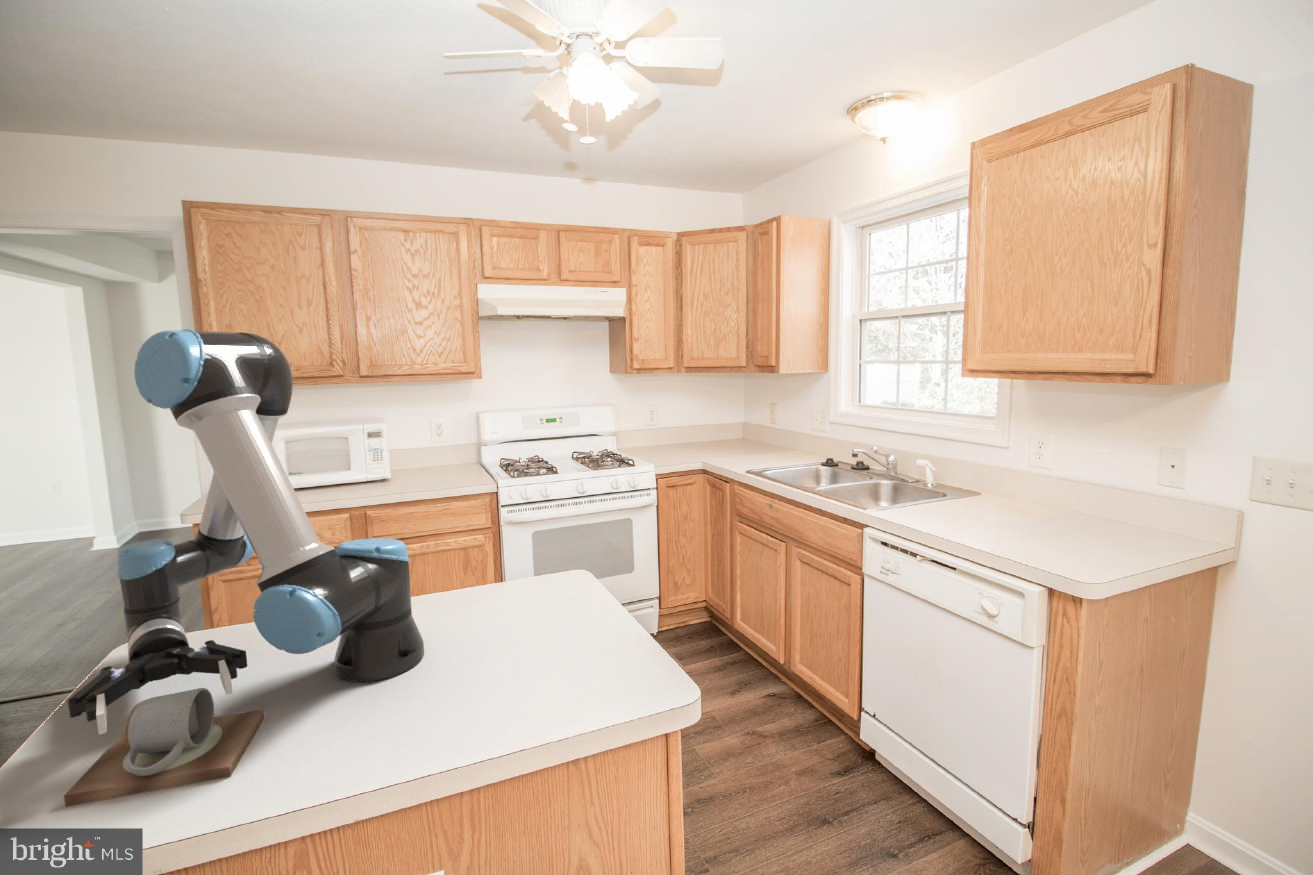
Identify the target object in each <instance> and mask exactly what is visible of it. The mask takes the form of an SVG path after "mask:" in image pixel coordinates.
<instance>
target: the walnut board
mask: <svg viewBox="0 0 1313 875" xmlns="http://www.w3.org/2000/svg"><path fill="white" fill-rule="evenodd" d="M264 720H265V709H257V710H249V711H243V712H236V713H230V714H224V715H217V716H214V721H213V726H212V729H211V732H210V734H209V736H208V738H207V739H206V741H205V742H204V743H203V744H202V745H200V746H199V747H195V748H189V749H183V750H182V752H181V753H180V755H179V756H178V757H177V759H176V760H175V761H174V762H173V763H172V764H171V765H170V766H168V767H167V768H165V769H164V770H162V771H160V772H158V773H156V774H153V775H148V776H137V775H135V774H133V773H132V772H131V771H130V769H129V768H128V766H127V756H128V753H129V752H130V749H129V748H128V747H127V745H126V743H125V739H124V731H123V732H122V733H121V734H120V735H119V736H118V737H117V738H116V739H115V741H114V742H113V743H112V744H111V745H110V746H108V748H107V749H106V750H105V751H104V752H103V753H102V754H101V755H100V757H98V759H97V760H96V761H95V762H94V763H93V764H92V765H91V766H90V767H89V768H88V770H86V772H84V774H83V775H82V776H81V777H80V778H79V779H78V780H77V781H76V782H75V783H74V784H73V785H72V786H71V787H70V789H69V790H68V791H67V792H65V793H64V795H63V798H64V806H65V807H70V806H75V805H80V804H81V805H82V804H87V803H92V802H98V801H102V800H110V799H114V798H119V797H125V796H130V795H135V794H136V795H137V794H141V793H142V794H143V793H146V792H147V793H148V792H152V791H153V792H154V791H158V790H159V791H160V790H164V789H168V788H176V787H180V786H185V785H192V784H196V783H197V784H198V783H202V782H208V781H213V780H219V779H220V780H221V779H225V778H226V779H227V778H230V777H231V776H232V775H233V773H234V771H235V770H236V768H237V766H238V764H239V763H240V761H241V759H242V757H243V756H244V755H245V752H246V751H247V750H248V747H249V746H250V744H251V742H252V740H253V738H254V737H255V735H256V734H257V732H258V730H259V728H260V727H261V725H262V723H263V722H264ZM170 752H171V751H162V752H156V753H148V754H138V755H137V757H136V759H135V762H134V765H135V766H136V767H142V768H147V767H150V766H152V765H154V764H156V763H158V762H159V761H161V760H162V759H164V758H165V757H166V756H167V755H168V754H169V753H170Z"/></svg>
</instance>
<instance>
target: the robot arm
mask: <svg viewBox="0 0 1313 875" xmlns="http://www.w3.org/2000/svg"><path fill="white" fill-rule="evenodd" d="M136 355H137V356H136V360H135V361H134V371H133V372H134V373H133V374H134V379H135V380H134V382H135V384H136V388H137V390H138V393H139V394H140V395H141V397H142V398H143V399H144V400H145V401H146V403H149V404H151V405H152V406H153V407H156V408H159V409H163V410H167V409H169V410H170V412H171V414H172V416H173V418H174V419H175V421H176V423H177V425H178V426H180V427H181V428H185V429H188V430H191V431H193V432H194V434H195V435H196V437H197V439H198V441H199V443H200V445H201V447H202V449H203V451H204V454H205V455H206V457H207V460H208V461H209V464H210V465H211V468H212V470H213V474H212V477H211V481H210V485H209V490H208V494H207V497H206V499H205V505H204V508H203V512H202V515H201V519H200V523H199V527H198V530H197V533H196V536H195V538H193V539H190V540H187V541H184V542H181V543H177V544H175V545H174V543H173V541H172V540H170V539H165V538H155V539H147V540H142V541H137V542H132V543H130V544H127V545H124V547H122V548H121V549H119V551H118V554H117V575H118V578H119V584H120V587H121V588H120V589H121V593H122V601H123V617H124V622H125V631H126V632H125V634H126V639H127V655H128V663H127V664H126V665H125V666H124V667H123V668H119V669H116V668H113V666H111V665H108V666H105V667H103V668H101V669H100V671H99V674H98V675H96V677H94V678H93V679H92V680H90V681H89V682H88V683H87V684H86V685H84V686H82V687H81V689H79V690H77V692H75V693H74V694H73V695H72V696H70V697H69V698H68V699H67V706H68V713H69V718H77V717H80V716H81V715H82V714H84V713H85V718H86V722H88V723H89V722H90V723H91V722H93V721H96V725H97V731H98V732H97V733H98V735H99V736H100V735H103V734H106V733H108V732H107V731H108V730H107V729H108V727H107V725H108V724H107V722H108V720H107V719H108V715H107V712H108V711H107V710H108V709H107V707H108V706H109V705H111V704H113V703H114V702H116V701H118V700H119V699H120V698H122V697H123V696H125V695H126V694H128V693H130V691H132V690H139V689H141V688H142V687H144V686H145V685H146V684H148V683H149V682H150V683H151V682H153V681H154V682H155V681H161V680H165V679H168V678H171V677H172V676H176V675H186V676H187V675H191V674H193V673H202V674H203V673H204V674H217V675H219V678H220V681H221V684H222V688H223V690H224V693H225V695H226V696H228V695H231V694H233V687H232V680H234V679H237V677H238V669H239V670H241V669H245V668H247V667H248V659H247V657H248V656H247V650H244V649H241V648H236V647H231V646H228V645H223V644H218V643H217V642H216V641H215V640H213V639H209V640H207V641H205V642H204V644H203V645H202V647H199V648H195V649H194V647H190V645H189V641H188V637H187V634H186V631H185V628H184V622H183V616H182V607H181V595H180V594H181V593H180V588H181V587H183V586H187V585H189V584H192V583H194V582H197V581H198V580H199V581H200V580H202V579H204V578H207V577H210V576H213V575H215V574H219V573H221V572H223V571H227V570H231V569H233V568H236V567H237V566H239V565H241V564H244V563H245V562H247V561H249V560H250V558H251V557H252V556H253V554H255V555H256V558H257V560H258V562H259V564H260V567H261V572H260V573H259V576H258V578H257V580H256V584H257V586H258V588H259V591H260V594H259V595H258V596H257V598H256V600H255V602H254V604H253V609H254V610H255V611H254V612H253V615H252V616H253V620H254V624H255V626H256V628H257V631H258V633H260V635H261V636H262V637H263V639H265V641H266V642H267V643H268V644H270V645H271V646H272V647H274V648H275V649H277V650H279V651H284V652H286V653H288V654H293V655H304V654H308V653H311V652H315V651H316V650H318V649H319V648H321V647H324V646H326V645H329V644H331V643H332V642H334V641H336V639H338V638H339V636H340V638H339V641H338V645H337V648H336V652H335V655H334V671H335V673H336V674H335V675H336V676H337V677H338V678H341V679H342V680H345V681H350V682H360V683H361V682H362V683H364V682H374V681H379V680H385V679H388V678H391V677H394V676H395V677H396V676H397V675H400V674H403V673H404V672H407V671H408V670H410V669H412V668H414V667H415V666H417V665H418V664H419V663H420V662H421V661H422V660H423V658H424V656H425V645H424V644H425V643H424V638H423V637H422V635H421V632H420V630H419V628H418V626H417V624H416V622H415V620H414V616H413V613H412V612H413V611H412V597H411V582H410V566H409V565H410V564H409V563H410V559H409V554H408V547H407V545H406V543H404V541H402V540H400V539H395V538H388V537H387V538H380V537H378V538H377V537H376V538H362V539H361V538H360V539H353V540H348V541H344V542H341V543H339V545H337V547H336V548H335V547H334V546H331V545H328V544H325V543H322V542H321V541H320V540H319V538H318V536H317V534H316V532H315V530H314V528H313V525H312V524H311V523H312V522H311V521H310V519H309V517H308V515H307V513H306V511H305V509H304V507H303V505H302V503H301V501H300V499H299V497H298V495H297V493H296V491H295V489H294V486H293V484H292V483H291V481H290V479H289V477H288V475H287V473H286V471H285V469H284V467H283V465H282V463H281V460H280V458H279V457H278V455H277V452H276V451H275V448H274V446H273V440H274V437H275V433H276V429H277V426H278V422H279V420H280V419H281V418H283V417H285V416H286V415H287V414H288V413H289V412H288V411H289V408H290V405H291V404H290V403H291V400H292V396H293V384H294V383H293V374H292V369H291V366H290V364H289V361H288V359H287V357H286V356H285V354H284V353H283V351H282V350H281V349H280V348H279V347H278V346H277V345H276V344H275V343H273V342H272V341H270V340H269V339H268V338H266V337H263V336H261V335H258V334H254V333H251V332H226V331H225V332H224V331H205V330H204V331H203V330H201V331H199V330H193V329H189V328H188V329H187V328H185V329H179V330H164V331H159V332H156V333H154V334H153V335H151V336H149V337H148V338H147V339H146V340H145V341H144V343H142V345H141V347H140V348H139V350H138V352H137V354H136Z"/></svg>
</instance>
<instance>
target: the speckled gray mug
mask: <svg viewBox="0 0 1313 875" xmlns="http://www.w3.org/2000/svg"><path fill="white" fill-rule="evenodd" d="M214 717H215V702H214V699H213V695H212V693H211V691H209V689H207V688H204V687H200V688H199V687H198V688H194V689H190V690H185V691H179V692H174V693H170V694H164V695H163V694H162V695H159V696H154V697H150V698H148V699H144V700H141V701H140V702H138V703H137V704H136V705H134V707H133V708H132V710H131V711H130V712H129V714H128V716H127V718H126V721H125V724H124V725H125V726H124V731H123V732H124V739H125V743H126V745H127V747H128V748H129V749H130V752H129V753H128V756H127V766H128V768H129V769H130V771H131V772H132V773H133V774H135V775H137V776H148V775H153V774H156V773H158V772H160V771H162V770H164V769H165V768H167V767H168V766H170V765H171V764H172V763H173V762H174V761H175V760H176V759H177V757H178V756H179V755H180V753H181V752H182V750H183V749H189V748H195V747H199V746H200V745H202V744H203V743H204V742H205V741H206V739H207V738H208V736H209V734H210V732H211V729H212V726H213V721H214ZM162 751H171V752H170V753H169V754H168V755H167V756H166V757H165V758H164V759H162V760H161V761H159V762H158V763H156V764H154V765H152V766H150V767H147V768H142V767H136V766H135V765H134V762H135V759H136V757H137V755H138V754H148V753H156V752H162Z"/></svg>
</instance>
